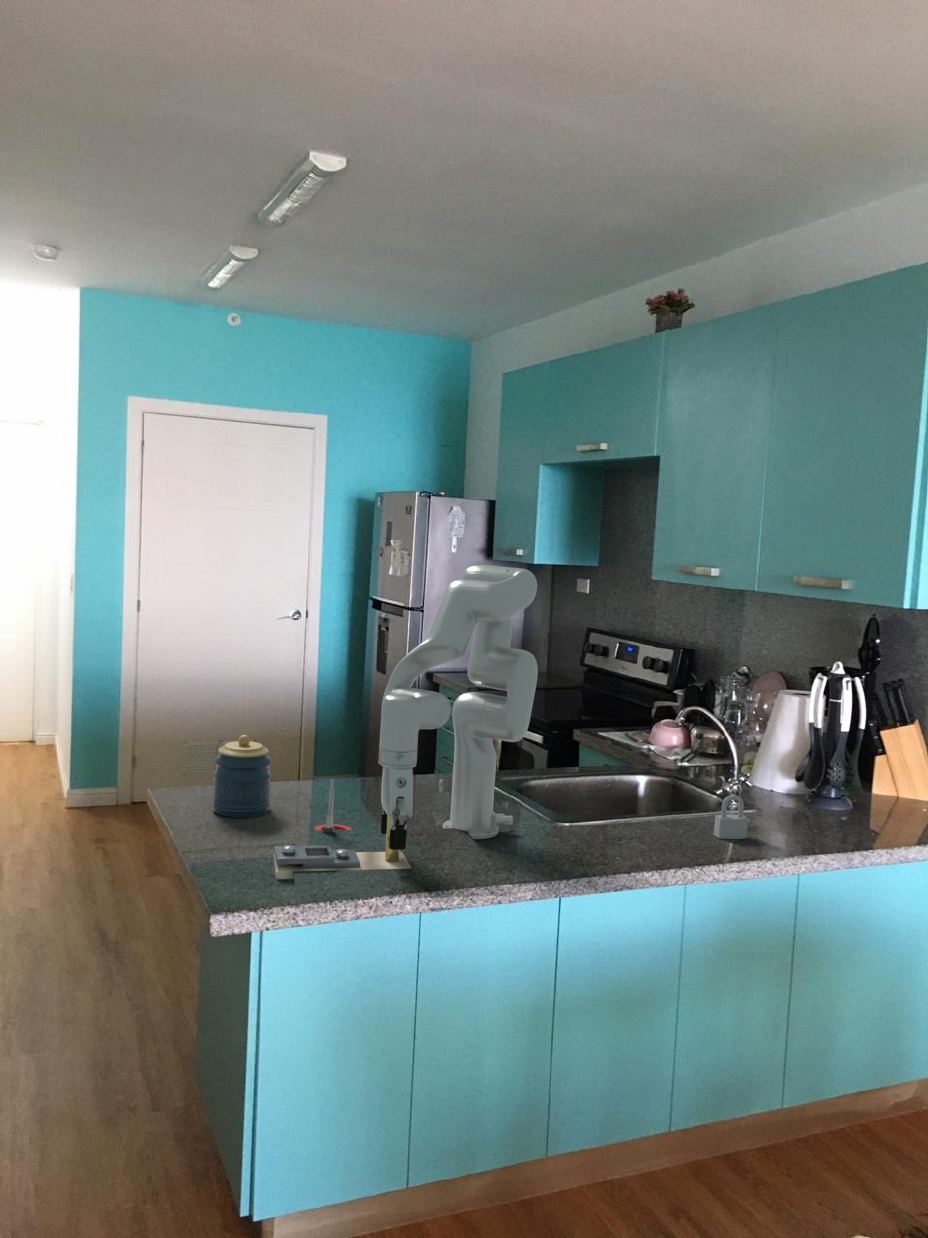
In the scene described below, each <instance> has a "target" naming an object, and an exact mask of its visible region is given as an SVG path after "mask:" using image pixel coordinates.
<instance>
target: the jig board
mask: <svg viewBox="0 0 928 1238" xmlns="http://www.w3.org/2000/svg"><path fill="white" fill-rule="evenodd" d="M355 852H356V851H355ZM356 854H357V856H358V859H359V861H360V867H358V868H316V869H303V867H302V864H277V863H276V858H275V853H273V855H272V856H273V857H272V859H273V860H272V862H273V867H274V873H275V877H276V880H294V879H295V875H294V872H321V871H322V872H323V871H324V872H326V871H328V872H329V871H364V870H368V871H369V870H370V871H371V870H402V869H403V870H408V869H410V870H411V869H412V867H411V865H410V863H409V861H408V859H407V857H406V856H405V854H404V853H403V851H401V850H400V851H399V861H398V862H387V861H385V851H363V852H362V851H361V852H359V851H358V852H356Z"/></svg>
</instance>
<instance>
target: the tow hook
mask: <svg viewBox="0 0 928 1238" xmlns="http://www.w3.org/2000/svg"><path fill="white" fill-rule="evenodd" d="M329 783H330V784H329V789H328V795H327V810H326V811H327V812H326V815H325V824H320V825H317V826H315V827H314V831H322V833H323V834H334V832H335V830H338V829H341V830H340V831H344V830H345V831H346V830H347V831H350V830H351V831H352V830H353V828H352V827H350V826H347V825H344V824H335V823H334V814H333V813H334V800H335V789H334V788H335V779H330V782H329ZM334 828H335V829H334Z"/></svg>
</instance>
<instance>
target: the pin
mask: <svg viewBox="0 0 928 1238" xmlns="http://www.w3.org/2000/svg"><path fill="white" fill-rule="evenodd" d="M394 814H399V813H394ZM396 820H397V819H395V823H396ZM390 829H392V824H391V817H389V816H388V815H387V832H386V834H385V835H386V836H385V848H384V849H385V851H384V852H385V861H387V862H398V861H399V852H400V850H391V849H390V848H389V839H390Z"/></svg>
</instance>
